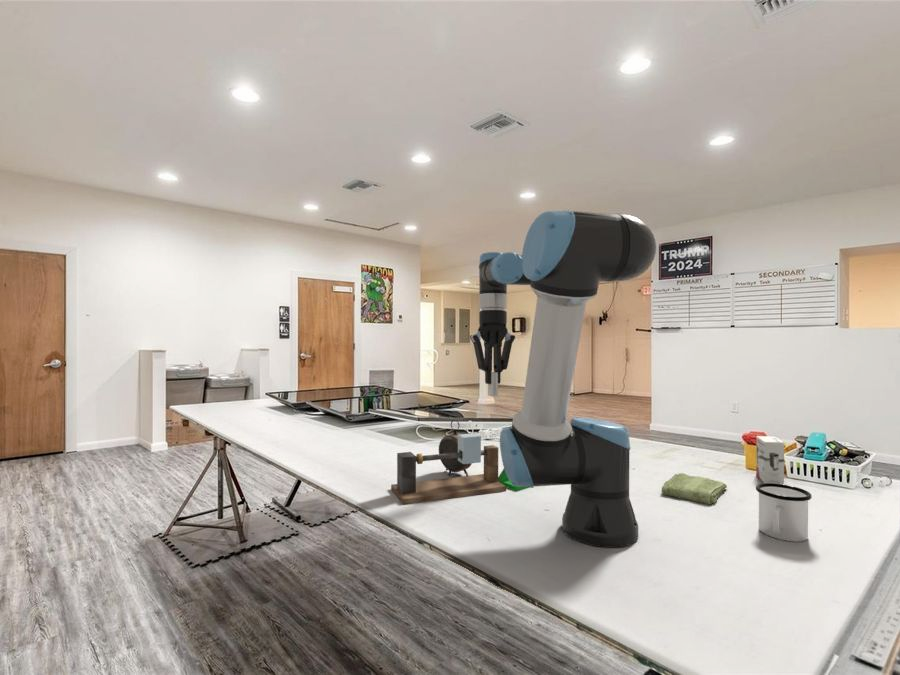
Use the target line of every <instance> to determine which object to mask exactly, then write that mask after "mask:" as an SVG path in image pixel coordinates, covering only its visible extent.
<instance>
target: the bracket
mask: <svg viewBox="0 0 900 675" xmlns="http://www.w3.org/2000/svg"><path fill="white" fill-rule="evenodd" d="M498 481H499V482H500V483H502V484H503V485H505V486H506V489H510V490H513V491H516V492H520V491H524V490H527V489H529V488H531V487H517V486H514V485H513V484H512V483H511V482H510V481H509V479H508V477H507V475H506V472H505V469H504V468H503V469H502V471H501V473H500V474H498Z"/></svg>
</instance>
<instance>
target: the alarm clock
mask: <svg viewBox="0 0 900 675" xmlns="http://www.w3.org/2000/svg"><path fill="white" fill-rule="evenodd" d="M453 422H457V424H458V427H457V428H454V427H453V426H452V424H453ZM450 428H451V430H452V431H453V433H451V434H447V435H445V436H443V437H442V438H441V440H440V441H439V445H438V454H446V453H457V452H458V435H460V434H462V433H461V432H457V431H458V430H460V422H459V420H457V419H453V420H451V422H450ZM440 462H441V463H442V465H443V466H444V468H445V470H446V471H448V477H450V476H451V474H452V473H459V472H462V471H463V472H464V474H465V476H469V473H468V471H467V470H468V469H469V468H470V467H471V466H472V464H473V463H470V464H462V463H461V462H459V461H458V458H451V459H441V460H440Z"/></svg>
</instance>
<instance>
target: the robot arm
mask: <svg viewBox="0 0 900 675" xmlns="http://www.w3.org/2000/svg"><path fill="white" fill-rule="evenodd" d="M656 252H657V242H656V239H655V235H654V233H653V232H652V229H650V227H649V226H648V225H647V224H646V223H645V222H643V221H642V220H640V219H639V218H638V217H635V216H631V215H629V214H624V213H605V212H592V211H590V212H589V211H578V210H577V211H575V210H568V209H567V210H565V209H564V210H548V211H545V212H542V213H541V214H539V215H538V216H537V217H536V218H535V219H534V221H533V222H532V223H531V225H530V227H529V228H528V231H527V232H526V236H525V239H524V244H523V247H522V252H521V254H518V253H516V252H512V251H507V252H500V251H487V252H483V253H481V255H480V256H479V264H478V270H479V272H478V274H479V275H478V277H479V278H478V280H479V285H478V286H479V288H478V289H479V297H478V299H479V300H478V302H479V304H478V305H479V306H478V307H479V309H480V311H479V314H478V318H479V319H478V322H479V326H478V329H477V332H476V333H474V334H471V335H470V336H469V339H470V340H471V342H472V343H473V349H474V352H475V357H476V363H477V367H478V370H481V371H483V372H484V382H485V384H486V385H487V396H489V397H499V394H498V393H499V391H498V390H499V387H498V386H499V384H501V373H502V372H503V371H504V370H507V369H508V366H509V361H510V354H511V351H512V346H513V343H514V341H515V340H516V335H514V334H511V333H510V332H509V331H508V328H507V322H508V320H507V319H508V317H507V316H508V312H507V310H506V309H507V308H508V300H507V299H508V296H507V294H508V291H507V290H508V288H507V287H508V286H510V285H512V286H514V285H515V286H530V288H531V290H532V292H533V293H534V294H535V295H536V297H537V298H536V305H535V312H534V319H533V327H532V334H531V341H530V346H529V347H530V348H529V356H528V363H527V370H526V377H525V382H524V383H525V384H524V385H525V386H524V392H523V399H522V406H521V410H519V411H517V412H516V413H515V414H514V415H513V417H512V421H511V427H505V428H502V429H501V431H500V434H499V448H500V457H501V461H502V462H501V463H502V466H503V469H505V472H506V475H507V477H508V479H509V481H510V482H511V483H512V484H513V485H514V486H517V487H530V488H532V489H533V488H534V487H547V486H548V487H549V486H563V485H564V486H565V485H567V486H568V485H570V494H569V496H568V499H567V503H566V506H565V510H564V512H563V514H562V518H561V529H562V531H563V533H564V534H566V536H568V537H569V538H571V539H573V540H575V541H577V542H580V543H583V544H587V545H590V546H596V547H604V548H605V547H606V548H621V547H627V546H630V545H632V544H635V543H636V542H637V541H638V539H639V523H638V520H637V519H636V514H635V511H634V509H633V506H632V505H633V504H632V501H631V499H630V450H631V448H632V447H631V445H630V444H631V443H630V433H629V430H628V429H627V427H626V426H623V425H622V424H620V423H616V422H612V421H607V420H602V419H596V418H591V417H590V418H589V417H580V416H579V417H572V418H571V420H570V421H569V420H568V419H567V416H568V415H567V414H568V409H569V408H568V407H569V403H570V397H571V391H572V385H573V380H574V374H575V370H576V368H575V367H576V363H577V362H576V361H577V357H578V351H579V344H580V340H581V335H582V328H583V324H584V319H585V318H584V317H585V314H586V313H585V312H586V306H587V303H588V302H589V301H591V300H592V299H594V298H595V297H597V294H598V290H599V285H600V284H599V283H601V282H624V281H629V280H633V279H635V278H638V277H639V276H641V275H643V274H645V272H646V271H648V269H649V268H650V266H652V263H654V260H655V257H656ZM481 340H482V341H483V346H482V342H481ZM503 340H504V343H503ZM483 347H484V349H483ZM502 347H503V348H502ZM483 350H484V352H483Z"/></svg>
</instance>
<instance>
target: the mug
mask: <svg viewBox="0 0 900 675" xmlns="http://www.w3.org/2000/svg"><path fill="white" fill-rule="evenodd" d="M755 490H756V491H757V493H758V530H759V531H760V532H762V533H763V534H764V533H765V535H766V536H768V535H769V536H768V537H770V536H771V538H773V537H774V538H773V539H776V538H777V540H781V541H785V540H786V542H793V541H794V542H795V543H798V542H799V541H800V542H803V541H806V540H808V539H809V501H810V500H811V499H812V493H811V492H809V491H808V490H805V489H803V488H801V487H797V486H794V485H788V484H784V485H783V484H775V483H764V482H763V483H758V484H757V485H755Z"/></svg>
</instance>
